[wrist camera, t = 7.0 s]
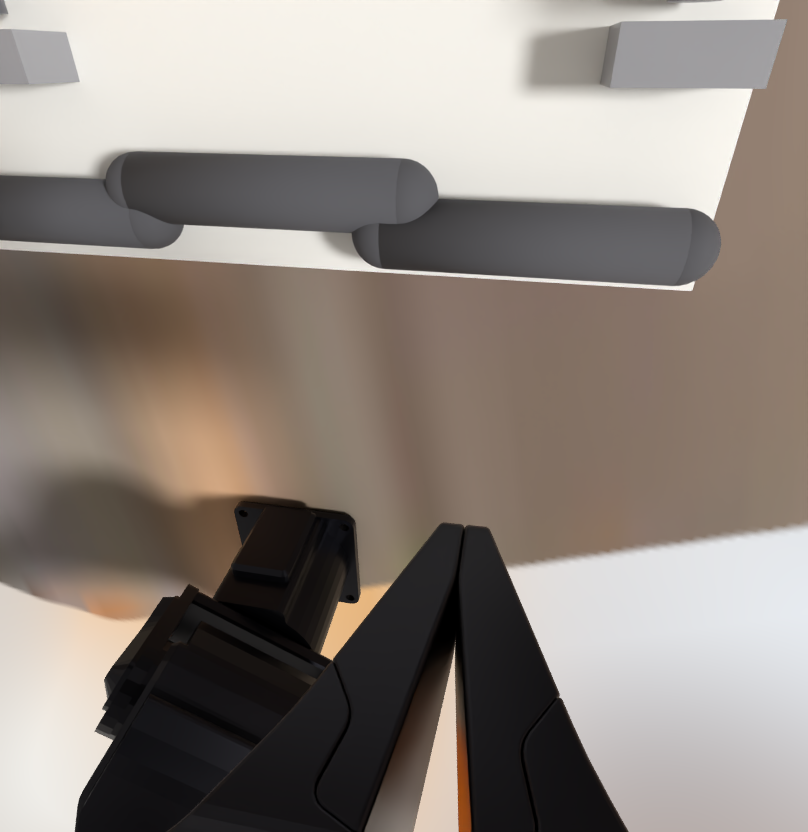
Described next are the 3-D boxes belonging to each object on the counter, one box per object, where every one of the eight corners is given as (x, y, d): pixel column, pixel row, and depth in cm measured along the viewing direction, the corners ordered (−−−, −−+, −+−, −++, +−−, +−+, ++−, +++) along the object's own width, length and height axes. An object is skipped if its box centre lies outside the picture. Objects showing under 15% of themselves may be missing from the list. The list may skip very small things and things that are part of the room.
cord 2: (697, 274, 16) (716, 299, 14) (-4, 235, 19) (-53, 251, 18) (731, 161, 14) (757, 174, 12) (-42, 141, 18) (-100, 150, 16)
